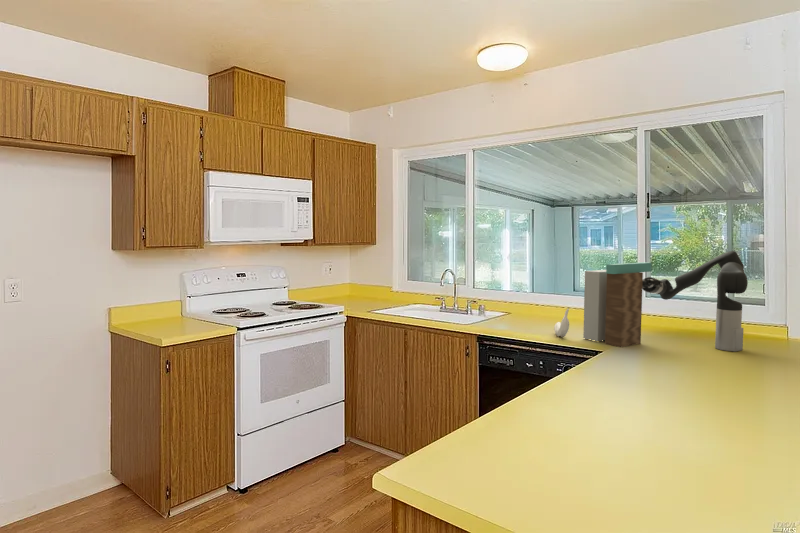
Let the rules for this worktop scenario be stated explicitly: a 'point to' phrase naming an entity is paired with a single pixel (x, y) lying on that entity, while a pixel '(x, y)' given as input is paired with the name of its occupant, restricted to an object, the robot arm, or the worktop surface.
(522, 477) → the worktop surface
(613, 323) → the walnut stand
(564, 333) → the white tapered lobed shape
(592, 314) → the grey stand
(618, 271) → the teal block
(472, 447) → the worktop surface
